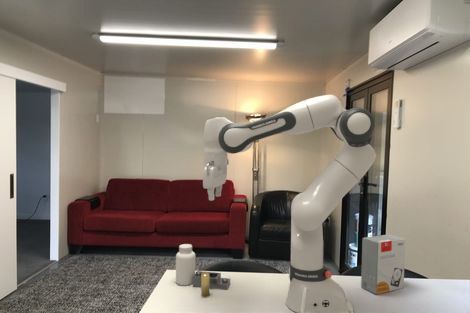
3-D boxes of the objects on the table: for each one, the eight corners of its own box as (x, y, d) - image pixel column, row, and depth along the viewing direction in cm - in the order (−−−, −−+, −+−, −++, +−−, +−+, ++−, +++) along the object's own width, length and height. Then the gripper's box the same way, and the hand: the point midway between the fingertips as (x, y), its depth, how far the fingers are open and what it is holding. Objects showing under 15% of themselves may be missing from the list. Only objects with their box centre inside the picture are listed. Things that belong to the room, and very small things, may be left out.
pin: (210, 293, 118) (210, 272, 118) (208, 297, 115) (208, 276, 115) (202, 293, 119) (202, 272, 118) (200, 296, 116) (200, 275, 116)
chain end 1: (220, 282, 128) (220, 271, 128) (217, 288, 122) (217, 276, 122) (197, 280, 130) (197, 269, 130) (192, 286, 124) (192, 274, 124)
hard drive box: (376, 295, 117) (376, 242, 116) (360, 287, 124) (360, 237, 123) (404, 288, 123) (405, 238, 123) (388, 280, 130) (388, 233, 130)
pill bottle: (191, 286, 124) (191, 249, 124) (172, 284, 126) (172, 248, 126) (197, 278, 132) (197, 243, 132) (180, 277, 134) (179, 242, 133)
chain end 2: (230, 283, 127) (230, 276, 127) (227, 289, 121) (227, 282, 121) (206, 281, 129) (206, 274, 129) (202, 287, 123) (202, 280, 123)
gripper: (216, 162, 104) (216, 203, 105) (229, 160, 124) (229, 194, 125) (198, 161, 105) (198, 202, 106) (214, 159, 126) (213, 194, 126)
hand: (215, 198), depth 115 cm, fingers open, 8 cm apart
